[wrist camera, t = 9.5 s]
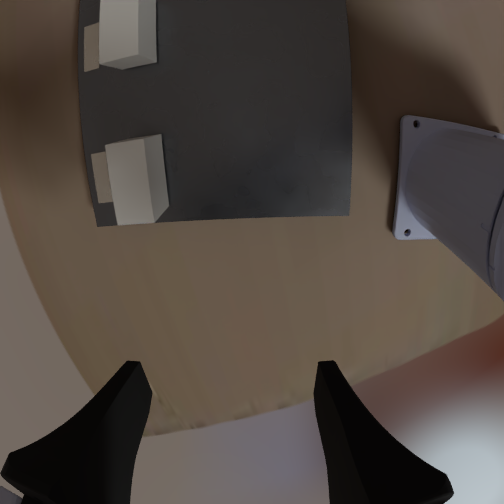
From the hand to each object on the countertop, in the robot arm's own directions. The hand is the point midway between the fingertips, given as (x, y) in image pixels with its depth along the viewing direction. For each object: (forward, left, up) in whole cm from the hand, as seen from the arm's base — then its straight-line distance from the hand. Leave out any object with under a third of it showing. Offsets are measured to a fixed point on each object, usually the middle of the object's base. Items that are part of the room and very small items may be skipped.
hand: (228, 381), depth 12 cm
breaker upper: (+4, -7, -8) cm, 11 cm away
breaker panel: (+1, -15, -9) cm, 18 cm away
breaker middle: (+5, -15, -8) cm, 17 cm away
